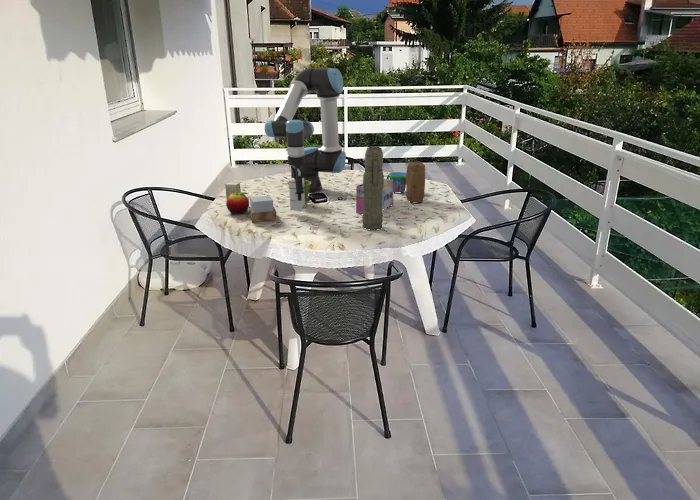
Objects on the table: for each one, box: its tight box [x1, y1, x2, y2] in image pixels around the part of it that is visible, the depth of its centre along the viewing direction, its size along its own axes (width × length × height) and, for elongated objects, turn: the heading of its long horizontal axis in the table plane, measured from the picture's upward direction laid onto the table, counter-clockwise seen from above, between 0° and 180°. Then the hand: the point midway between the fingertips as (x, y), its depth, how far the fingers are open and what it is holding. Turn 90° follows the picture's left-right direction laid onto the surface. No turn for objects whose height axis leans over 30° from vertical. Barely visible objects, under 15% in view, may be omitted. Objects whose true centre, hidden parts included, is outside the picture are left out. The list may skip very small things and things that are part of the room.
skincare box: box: [224, 181, 242, 200], centre depth 255 cm, size 6×4×12 cm
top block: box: [249, 195, 274, 213], centre depth 237 cm, size 9×9×5 cm
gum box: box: [355, 178, 394, 215], centre depth 254 cm, size 24×8×14 cm, turn 146°
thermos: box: [361, 145, 385, 231], centre depth 223 cm, size 9×12×35 cm
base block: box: [248, 205, 278, 224], centre depth 239 cm, size 11×11×5 cm
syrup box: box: [288, 178, 306, 212], centre depth 241 cm, size 6×6×14 cm
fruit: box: [225, 191, 250, 215], centre depth 247 cm, size 11×11×10 cm
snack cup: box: [386, 171, 407, 193], centre depth 286 cm, size 16×10×10 cm
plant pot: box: [287, 180, 311, 206], centre depth 261 cm, size 12×12×11 cm
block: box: [405, 161, 426, 203], centre depth 267 cm, size 11×8×20 cm
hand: (297, 204), depth 243 cm, fingers closed on syrup box, 7 cm apart
